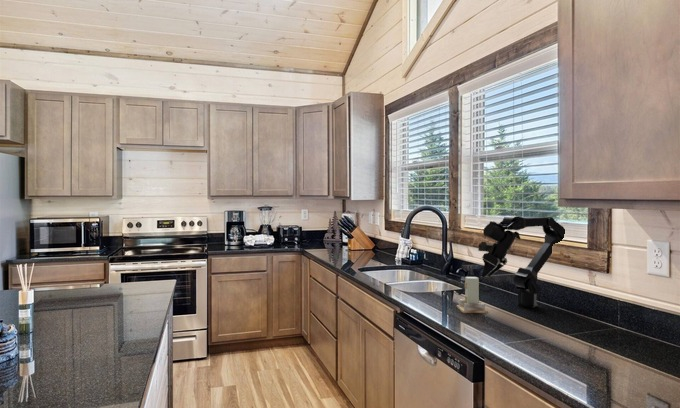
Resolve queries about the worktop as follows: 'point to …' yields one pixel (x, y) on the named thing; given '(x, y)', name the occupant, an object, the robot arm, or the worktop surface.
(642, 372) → the worktop surface
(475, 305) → the hinge clip plate
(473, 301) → the grey-green rectangular block
